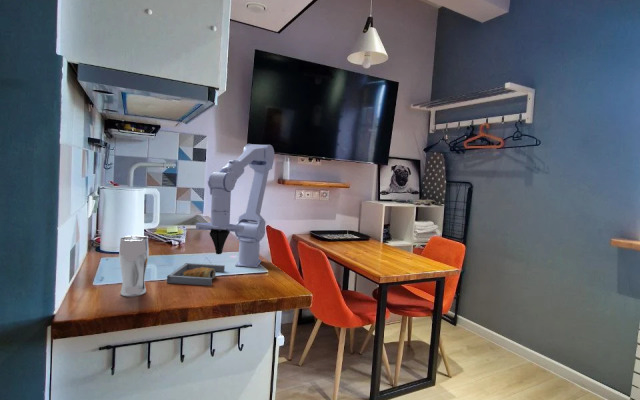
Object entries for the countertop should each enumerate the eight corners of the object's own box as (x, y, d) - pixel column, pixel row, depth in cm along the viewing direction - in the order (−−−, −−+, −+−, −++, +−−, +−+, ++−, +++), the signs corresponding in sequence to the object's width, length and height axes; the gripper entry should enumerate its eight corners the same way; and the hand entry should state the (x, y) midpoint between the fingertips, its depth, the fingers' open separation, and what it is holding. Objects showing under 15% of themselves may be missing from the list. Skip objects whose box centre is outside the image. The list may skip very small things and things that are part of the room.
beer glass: (152, 289, 101) (153, 236, 100) (139, 298, 94) (141, 241, 93) (127, 287, 101) (128, 234, 100) (113, 296, 94) (113, 239, 93)
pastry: (179, 281, 110) (179, 268, 110) (188, 274, 117) (189, 263, 117) (208, 283, 109) (209, 271, 109) (217, 277, 116) (217, 265, 116)
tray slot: (185, 268, 122) (186, 263, 122) (224, 271, 122) (224, 265, 122) (166, 282, 107) (167, 276, 107) (210, 285, 107) (211, 279, 107)
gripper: (192, 210, 109) (191, 255, 110) (241, 213, 109) (239, 258, 110) (200, 208, 116) (199, 249, 117) (246, 210, 116) (244, 252, 117)
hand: (219, 253), depth 114 cm, fingers closed
